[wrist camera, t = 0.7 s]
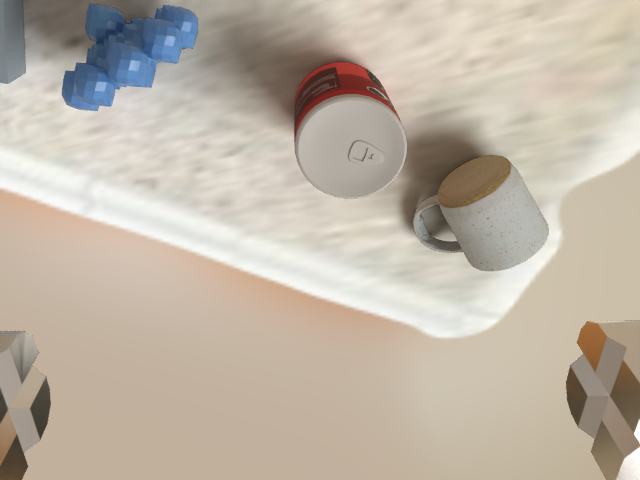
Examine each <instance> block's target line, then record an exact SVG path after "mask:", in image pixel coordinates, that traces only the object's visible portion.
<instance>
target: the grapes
mask: <svg viewBox="0 0 640 480" xmlns="http://www.w3.org/2000/svg"><path fill="white" fill-rule="evenodd" d="M85 29H86V31H87V34H88V36H89V38H90V40H93V41H95V42H97V43H96V44H94V45H93V46H92V50H91V49H89V48H88V53H87V62H86V63H76V67H75V70H74V71H65V75H64V79H63V87H62V96H63V98H64V100H65V102H66V104H67V105H69V106H71V107H73V108H76V109H80V110H90V111H98V108H99V106H112V103H113V99H114V94H115V89H120V86H123V87H126V86H134V87H150V88H151V87H152V83H153V80H154V76H155V71H156V65H157V62H168V63H178V59H179V56H180V53H181V49H185V48H191V49H193V46H194V43H195V40H196V36H197V33H198V18H197V17H196V16H195V14H194V13H193V12H191V11H190V10H188V9H185V8H182V7H176V6H169V5H163V8H162V9H158V8H157V11H156V14H155V18H154V19H153V18H145V20H144V19H139V18H134V19H131V23H126V21H125V18H124V15H123V14H122V12H121V11H119V10H117V9H116V8H113V7H110V6H106V5H100V4H91V3H90V4H89V7H88V11H87V18H86V26H85Z"/></svg>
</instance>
